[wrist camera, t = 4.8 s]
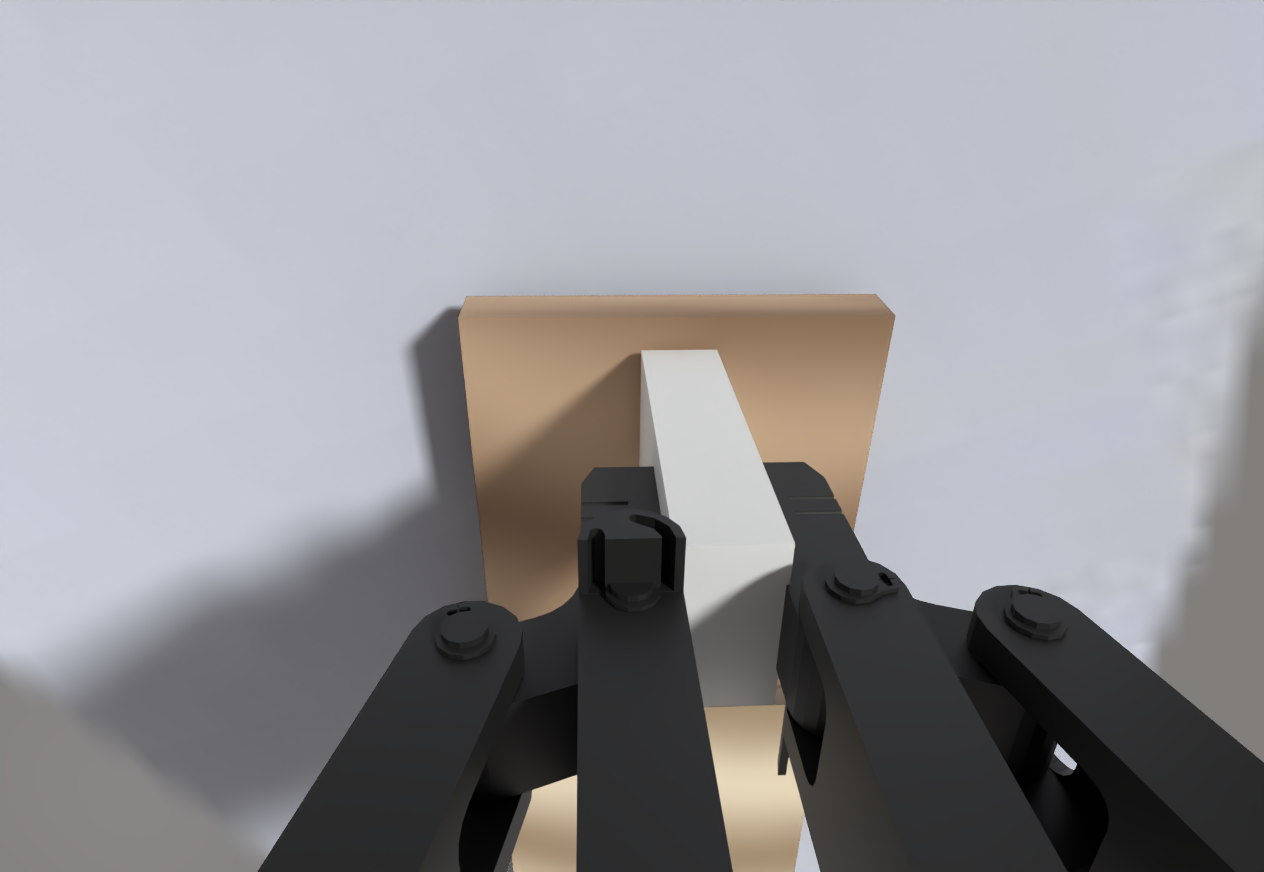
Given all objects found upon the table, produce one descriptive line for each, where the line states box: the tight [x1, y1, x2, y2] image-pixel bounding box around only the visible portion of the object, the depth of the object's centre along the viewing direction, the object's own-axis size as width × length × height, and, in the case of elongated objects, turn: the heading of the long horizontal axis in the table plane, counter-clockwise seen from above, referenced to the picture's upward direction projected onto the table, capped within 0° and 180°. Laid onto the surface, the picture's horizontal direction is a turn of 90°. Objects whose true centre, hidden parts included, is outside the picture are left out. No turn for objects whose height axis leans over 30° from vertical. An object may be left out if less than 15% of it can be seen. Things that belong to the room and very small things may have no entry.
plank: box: [458, 294, 895, 678], centre depth 18 cm, size 10×8×1 cm
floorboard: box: [512, 678, 804, 872], centre depth 24 cm, size 12×8×2 cm
